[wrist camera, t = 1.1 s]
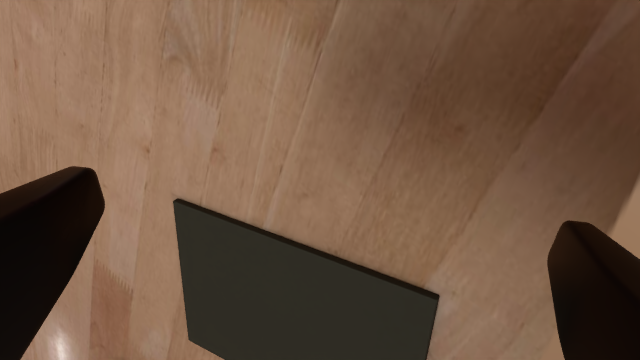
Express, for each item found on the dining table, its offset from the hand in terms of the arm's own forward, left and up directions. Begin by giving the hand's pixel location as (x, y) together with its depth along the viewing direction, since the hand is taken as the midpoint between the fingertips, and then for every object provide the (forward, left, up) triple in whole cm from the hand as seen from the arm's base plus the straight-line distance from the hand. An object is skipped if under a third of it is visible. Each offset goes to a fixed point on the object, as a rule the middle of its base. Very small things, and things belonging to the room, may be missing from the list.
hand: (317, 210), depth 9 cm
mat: (+10, +19, -14) cm, 26 cm away
